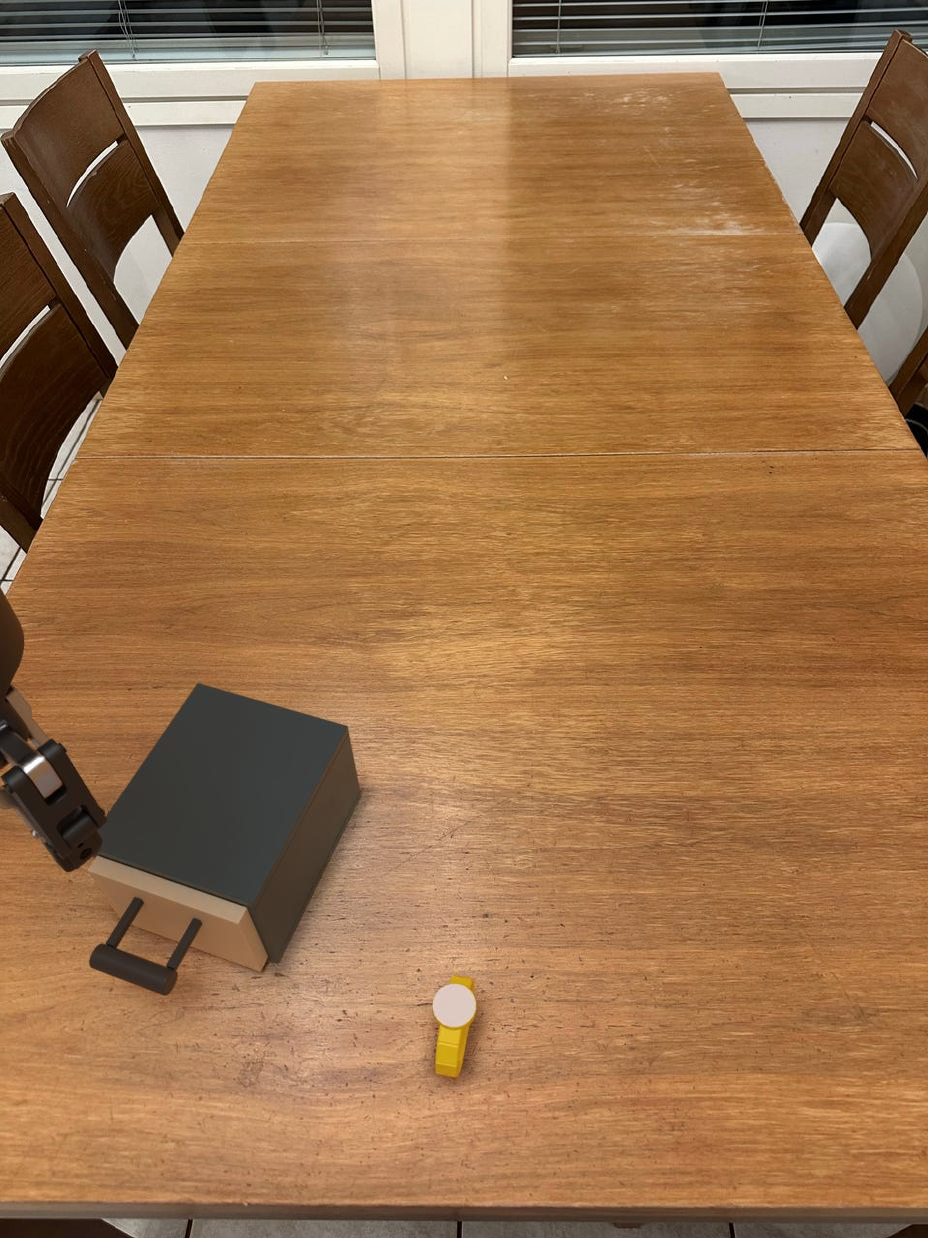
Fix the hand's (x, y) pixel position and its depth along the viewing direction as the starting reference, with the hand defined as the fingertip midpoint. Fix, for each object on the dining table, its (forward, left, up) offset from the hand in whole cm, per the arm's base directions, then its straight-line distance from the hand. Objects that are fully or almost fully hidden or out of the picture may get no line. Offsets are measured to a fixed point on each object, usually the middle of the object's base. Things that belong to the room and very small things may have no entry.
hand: (34, 809), depth 49 cm
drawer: (+1, +7, -22) cm, 24 cm away
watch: (+21, +3, -24) cm, 32 cm away
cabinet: (+1, +11, -23) cm, 26 cm away
